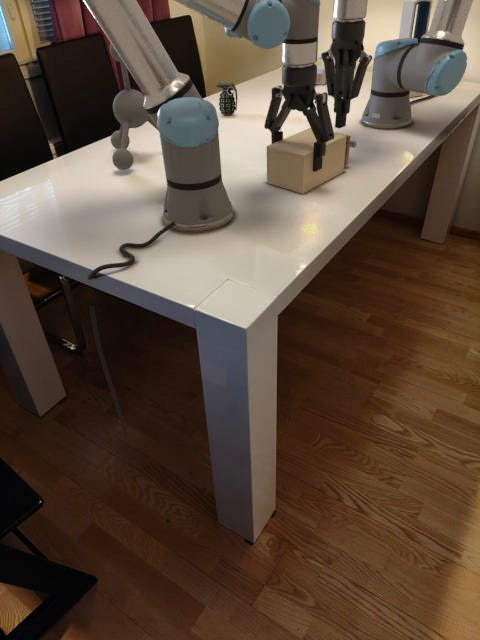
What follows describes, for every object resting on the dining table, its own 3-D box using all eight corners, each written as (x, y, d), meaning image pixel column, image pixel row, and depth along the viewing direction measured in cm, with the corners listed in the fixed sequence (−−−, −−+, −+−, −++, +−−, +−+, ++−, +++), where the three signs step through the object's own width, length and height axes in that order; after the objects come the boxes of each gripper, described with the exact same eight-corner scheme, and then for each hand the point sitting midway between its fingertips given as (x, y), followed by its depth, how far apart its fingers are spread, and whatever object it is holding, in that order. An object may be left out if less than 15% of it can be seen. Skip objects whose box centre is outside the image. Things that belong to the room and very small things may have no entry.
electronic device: (393, 99, 175) (406, 0, 157) (383, 94, 181) (394, -2, 162) (424, 95, 177) (441, -3, 159) (413, 90, 183) (428, -5, 165)
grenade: (217, 117, 168) (214, 86, 162) (221, 112, 172) (219, 82, 166) (235, 117, 166) (233, 86, 160) (239, 113, 171) (238, 82, 165)
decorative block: (312, 54, 215) (354, 57, 206) (311, 70, 219) (352, 74, 210) (281, 65, 199) (325, 69, 190) (281, 83, 203) (324, 87, 194)
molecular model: (196, 161, 135) (182, 37, 116) (116, 176, 129) (90, 48, 110) (173, 138, 152) (159, 27, 134) (102, 149, 146) (77, 35, 128)
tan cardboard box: (308, 162, 130) (309, 127, 125) (343, 171, 124) (346, 135, 119) (266, 183, 121) (266, 146, 115) (302, 193, 115) (304, 155, 109)
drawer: (329, 150, 135) (331, 123, 130) (360, 157, 129) (363, 129, 125) (278, 175, 122) (278, 145, 118) (310, 184, 117) (312, 154, 112)
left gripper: (356, 66, 100) (347, 170, 113) (268, 56, 113) (269, 150, 126) (335, 73, 96) (328, 180, 109) (247, 62, 109) (250, 159, 122)
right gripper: (383, 19, 109) (370, 127, 124) (334, 16, 117) (327, 119, 131) (365, 23, 105) (354, 134, 120) (316, 20, 112) (311, 125, 127)
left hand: (297, 164), depth 118 cm, fingers closed on tan cardboard box, 11 cm apart
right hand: (340, 126), depth 125 cm, fingers closed
